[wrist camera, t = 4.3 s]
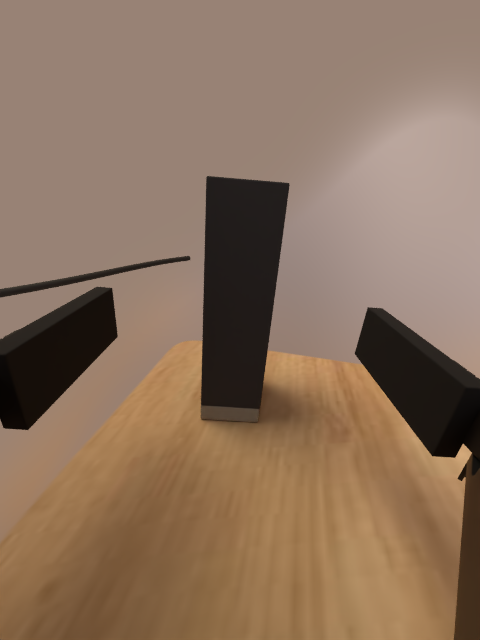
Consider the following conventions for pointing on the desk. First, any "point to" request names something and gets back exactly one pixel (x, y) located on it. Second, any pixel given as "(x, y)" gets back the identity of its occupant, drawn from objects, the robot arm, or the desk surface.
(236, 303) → the black tall block
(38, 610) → the desk surface
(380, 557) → the desk surface
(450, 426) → the robot arm
